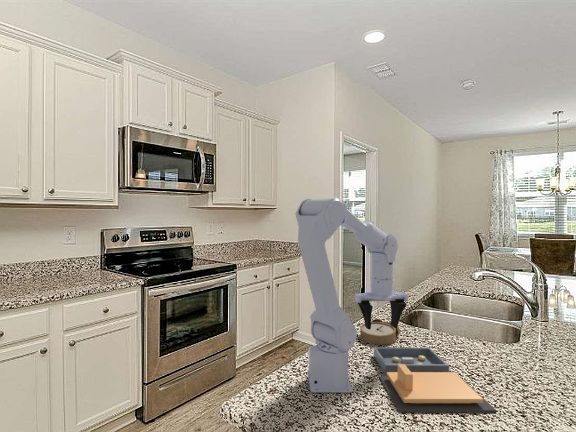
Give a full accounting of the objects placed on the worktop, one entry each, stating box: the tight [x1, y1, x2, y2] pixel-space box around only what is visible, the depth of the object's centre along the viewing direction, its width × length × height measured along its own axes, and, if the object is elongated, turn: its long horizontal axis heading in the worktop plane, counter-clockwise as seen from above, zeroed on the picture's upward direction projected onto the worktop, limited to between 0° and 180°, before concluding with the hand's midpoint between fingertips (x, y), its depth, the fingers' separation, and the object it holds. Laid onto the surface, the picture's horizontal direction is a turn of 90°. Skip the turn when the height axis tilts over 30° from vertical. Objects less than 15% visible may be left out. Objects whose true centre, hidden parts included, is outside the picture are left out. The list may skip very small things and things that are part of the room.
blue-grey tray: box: [373, 346, 450, 376], centre depth 89 cm, size 16×11×2 cm
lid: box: [386, 364, 484, 403], centre depth 75 cm, size 17×12×5 cm
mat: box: [378, 375, 497, 414], centre depth 75 cm, size 20×14×1 cm
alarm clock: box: [358, 318, 401, 346], centre depth 109 cm, size 11×5×15 cm
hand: (381, 327), depth 91 cm, fingers open, 7 cm apart
